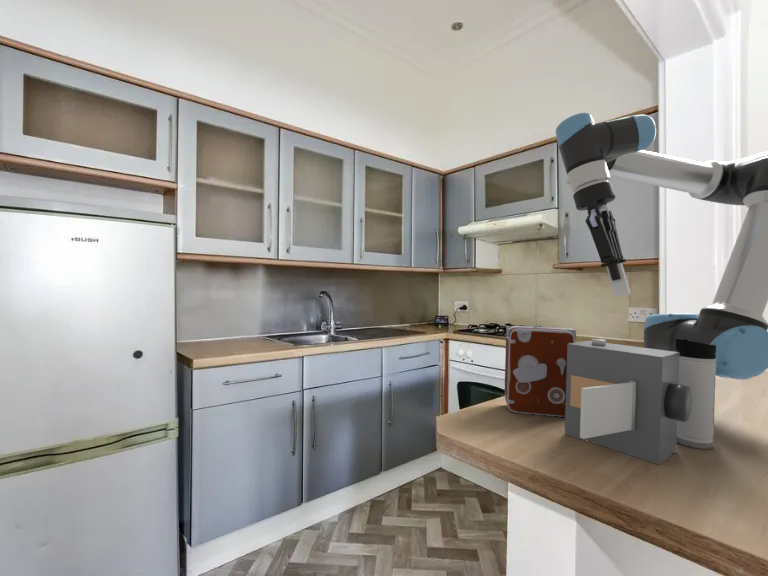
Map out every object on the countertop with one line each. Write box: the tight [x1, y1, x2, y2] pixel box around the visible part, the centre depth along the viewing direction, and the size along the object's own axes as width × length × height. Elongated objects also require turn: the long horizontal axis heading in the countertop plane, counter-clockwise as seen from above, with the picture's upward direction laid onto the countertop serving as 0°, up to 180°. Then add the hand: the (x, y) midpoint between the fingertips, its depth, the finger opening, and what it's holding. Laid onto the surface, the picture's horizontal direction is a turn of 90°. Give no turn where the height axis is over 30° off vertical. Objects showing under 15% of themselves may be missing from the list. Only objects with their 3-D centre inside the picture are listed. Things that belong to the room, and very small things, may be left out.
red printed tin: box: [504, 325, 577, 418], centre depth 91 cm, size 9×19×20 cm, turn 78°
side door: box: [580, 381, 636, 439], centre depth 65 cm, size 12×1×8 cm, turn 113°
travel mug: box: [675, 338, 717, 450], centre depth 75 cm, size 6×7×20 cm
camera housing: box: [564, 338, 692, 465], centre depth 73 cm, size 18×9×19 cm, turn 38°
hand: (622, 295), depth 80 cm, fingers closed
